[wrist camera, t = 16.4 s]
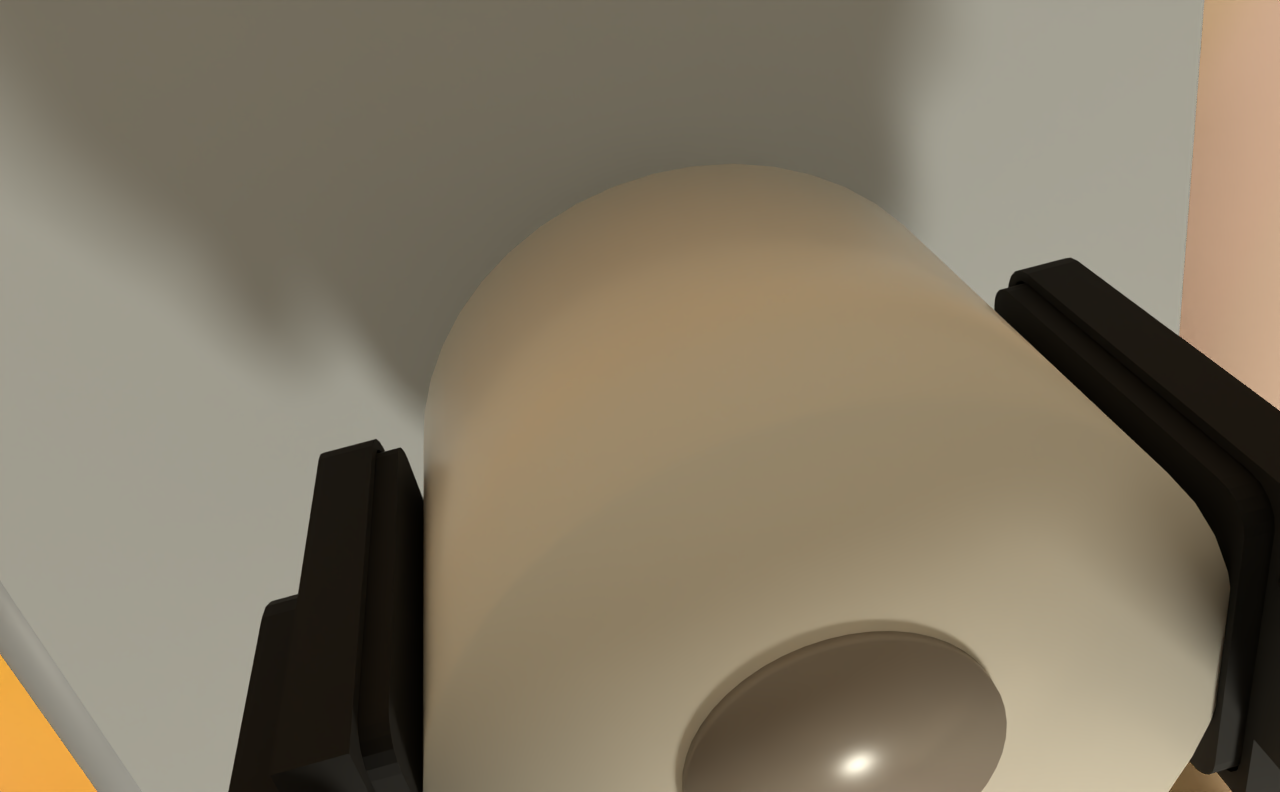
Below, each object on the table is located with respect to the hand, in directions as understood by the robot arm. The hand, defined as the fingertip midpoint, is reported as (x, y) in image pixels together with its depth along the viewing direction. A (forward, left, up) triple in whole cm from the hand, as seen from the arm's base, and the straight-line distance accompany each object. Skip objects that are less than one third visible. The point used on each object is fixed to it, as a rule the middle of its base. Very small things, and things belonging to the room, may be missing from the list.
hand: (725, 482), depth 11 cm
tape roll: (0, 0, -1) cm, 1 cm away
